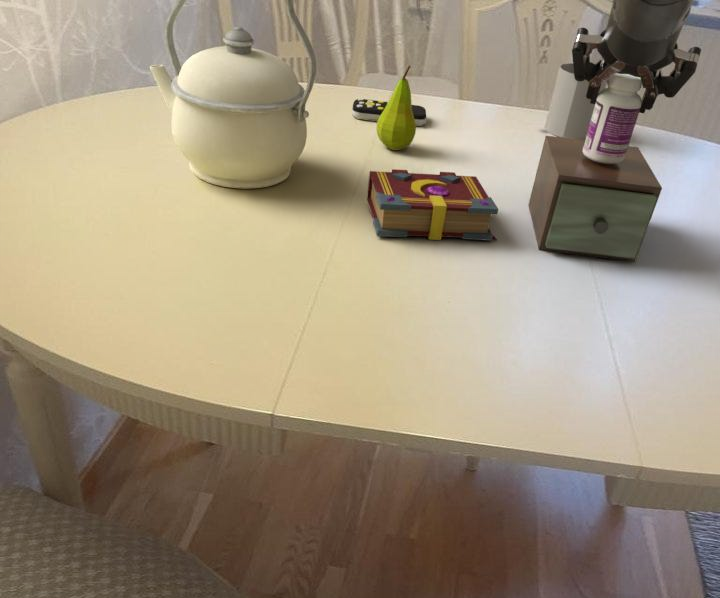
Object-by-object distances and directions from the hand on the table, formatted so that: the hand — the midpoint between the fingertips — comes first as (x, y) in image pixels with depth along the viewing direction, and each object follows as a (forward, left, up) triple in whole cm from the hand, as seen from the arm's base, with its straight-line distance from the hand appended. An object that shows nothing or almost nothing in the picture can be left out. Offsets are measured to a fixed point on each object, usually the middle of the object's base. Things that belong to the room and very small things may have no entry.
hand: (618, 101), depth 93 cm
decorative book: (+16, +15, -16) cm, 27 cm away
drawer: (-2, +4, -15) cm, 16 cm away
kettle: (+46, +21, -16) cm, 53 cm away
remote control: (+44, -17, -16) cm, 50 cm away
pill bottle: (-1, +2, -6) cm, 7 cm away
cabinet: (0, +2, -16) cm, 16 cm away
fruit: (+35, -5, -16) cm, 39 cm away
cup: (+19, -38, -16) cm, 46 cm away
